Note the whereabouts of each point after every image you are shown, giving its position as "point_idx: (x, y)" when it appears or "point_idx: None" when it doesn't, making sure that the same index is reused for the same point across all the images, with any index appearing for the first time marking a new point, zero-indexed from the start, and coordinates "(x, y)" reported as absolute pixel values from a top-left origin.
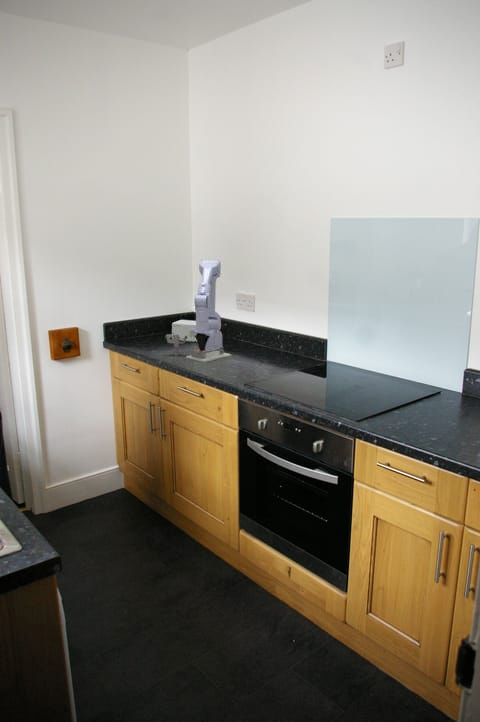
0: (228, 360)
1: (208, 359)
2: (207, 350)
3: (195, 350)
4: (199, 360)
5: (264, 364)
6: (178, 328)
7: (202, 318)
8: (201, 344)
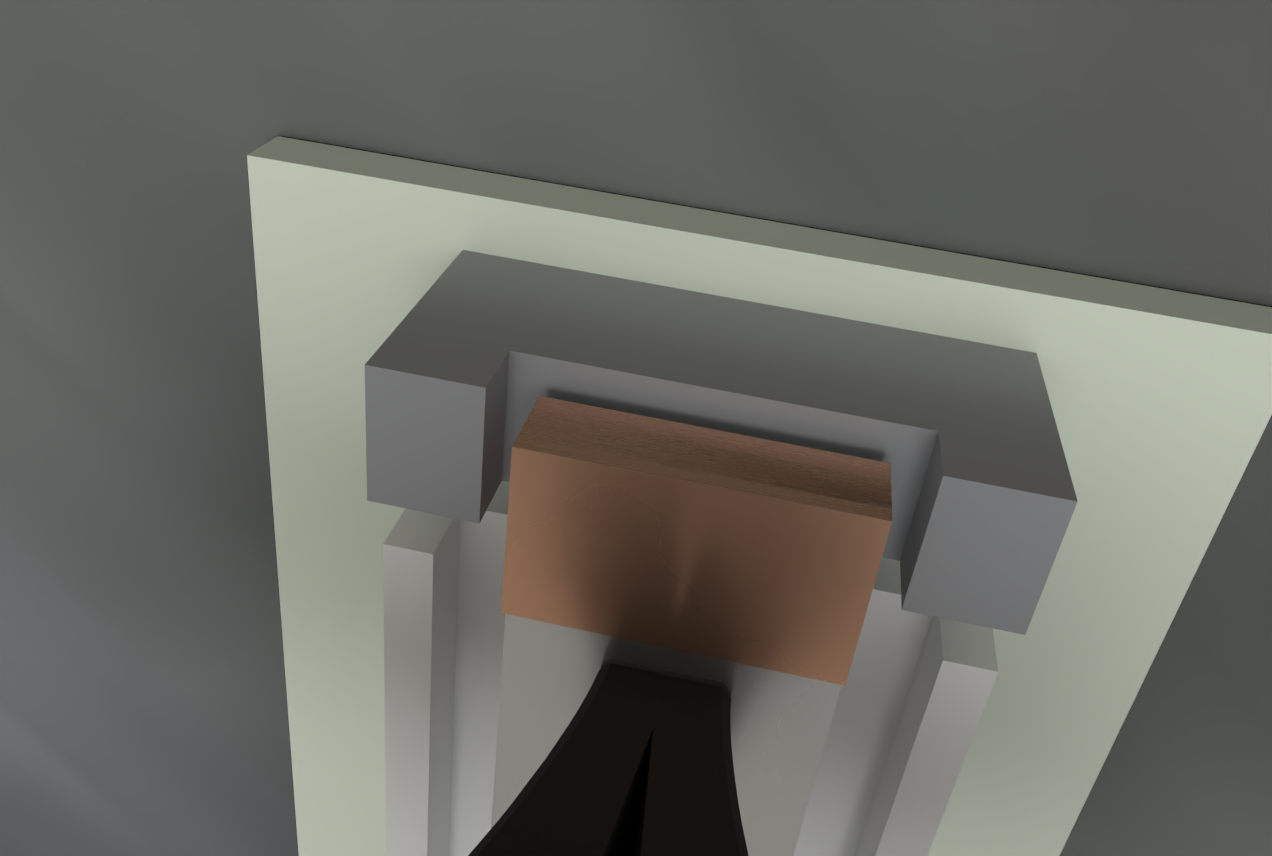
0: (32, 661)
1: (270, 358)
2: (497, 790)
3: (796, 502)
4: (526, 187)
5: None
6: None
7: None
8: (485, 851)
